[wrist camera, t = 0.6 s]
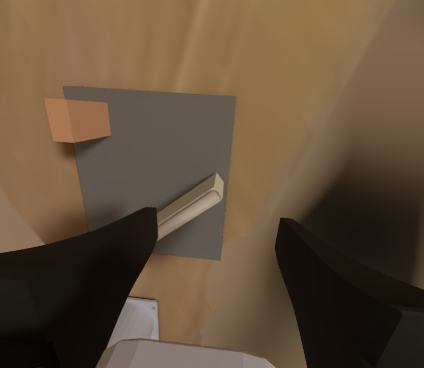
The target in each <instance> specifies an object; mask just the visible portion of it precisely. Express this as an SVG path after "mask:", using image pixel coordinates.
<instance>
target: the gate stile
mask: <svg viewBox="0 0 424 368" xmlns="http://www.w3.org/2000/svg"><path fill="white" fill-rule="evenodd" d="M44 99H45V104H46V108H47V113H48V118H49V122H50V127H51V132H52V137H53V141H57V142H70V143H75V142H80V141H85V140H90V139H96V138H101V137H106V136H111V132H110V123H109V114H108V105H107V103H105V102H92V101H79V100H66V99H51V98H44Z"/></svg>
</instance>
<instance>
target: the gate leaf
mask: <svg viewBox="0 0 424 368" xmlns="http://www.w3.org/2000/svg"><path fill="white" fill-rule="evenodd" d="M223 185H224V182H223V180H222V179H221V178H220V176H219V175H218V174H217V173H215V174H214V175H213V176H211V177H210V178H208V179H207V180H205V181H204V182H202V183H201V184H199V185H198V186H196V187H195V188H193V189H192V190H191V191H189V192H188V193H186V194H185V195H183V196H182V197H180V198H179V199H177V200H176V201H174V202H173V203H171V204H170V205H168V206H167V207H166V208H164V209H163V210H161V211H160V212H158V213H157V223H158V239H157V241H158V240H160V239H161V238H163V237H164V236H166V235H168V234H169V233H171V232H172V231H174V230H176V229H177V228H179V227H180V226H182V225H183V224H185V223H187V222H188V221H190V220H191V219H193V218H195V217H196V216H198V215H199V214H201V213H202V212H204V211H206V210H207V209H209V208H210V207H212V206H214V205H215V204H217V203H218V202H220V201H221V200H222V198H223Z"/></svg>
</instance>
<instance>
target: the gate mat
mask: <svg viewBox="0 0 424 368" xmlns="http://www.w3.org/2000/svg"><path fill="white" fill-rule="evenodd" d="M63 90H64V95H65V99H66V100H79V101H92V102H105V103H107V105H108V114H109V123H110V132H111V136H106V137H101V138H96V139H90V140H85V141H80V142H75V143H73V146H74V151H75V157H76V162H77V168H78V174H79V179H80V185H81V190H82V196H83V202H84V207H85V213H86V219H87V224H88V230H89V232H91V231H93V230H96V229H99V228H101V227H103V226H106V225H108V224H110V223H112V222H115V221H117V220H119V219H121V218H123V217H125V216H127V215H129V214H131V213H133V212H136V211H138V210H140V209H142V208H145V207H156V208H157V213H158V212H160V211H161V210H163V209H164V208H166V207H167V206H168V205H170V204H171V203H173V202H174V201H176V200H177V199H179V198H180V197H182V196H183V195H185V194H186V193H188V192H189V191H191V190H192V189H193V188H195V187H196V186H198V185H199V184H201V183H202V182H204V181H205V180H207V179H208V178H210V177H211V176H213V175H214V174H215V173H217V174H218V175H219V176H220V178H221V179H222V180H223V182H224V185H223V198H222V200H221V201H220V202H218V203H217V204H215V205H214V206H212V207H210V208H209V209H207V210H206V211H204V212H202V213H201V214H199V215H198V216H196V217H195V218H193V219H191V220H190V221H188V222H187V223H185V224H183V225H182V226H180V227H179V228H177V229H176V230H174V231H172V232H171V233H169V234H168V235H166V236H164V237H163V238H161V239H160V240H158V241H157V242H156V244H155V247H154V249H153V252H152V253H154V254H164V255H173V256H183V257H192V258H201V259H211V260H220V258H221V248H222V238H223V228H224V217H225V207H226V196H227V186H228V176H229V165H230V155H231V144H232V134H233V124H234V113H235V103H236V97H233V96H217V95H201V94H185V93H169V92H153V91H137V90H121V89H105V88H89V87H73V86H63Z"/></svg>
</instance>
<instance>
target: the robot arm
mask: <svg viewBox="0 0 424 368" xmlns="http://www.w3.org/2000/svg"><path fill="white" fill-rule="evenodd" d="M157 239H158V223H157V208H156V207H145V208H142V209H140V210H138V211H136V212H133V213H131V214H129V215H127V216H125V217H123V218H121V219H119V220H117V221H115V222H112V223H110V224H108V225H106V226H103V227H101V228H99V229H96V230H93V231H91V232H88V233H85V234H82V235H79V236H76V237H72V238H69V239H65V240H62V241H58V242H55V243H50V244H46V245H42V246H38V247H33V248H28V249H22V250H17V251H10V252H4V253H0V368H275V367H274V366H273V365H272V364H270V363H269V362H268V361H267V360H266V359H265V358H264V357H262V356H259V355H256V354H253V353H249V352H246V351H243V350H235V349H228V348H219V347H211V346H202V345H195V344H186V343H178V342H170V341H162V340H159V326H158V304H157V301H155V300H149V299H140V298H132V297H128V295H129V293H130V291H131V289H132V287H133V285H134V284H135V282H136V280H137V278H138V277H139V275H140V273H141V271H142V269H143V268H144V266H145V264H146V262H147V261H148V259H149V257H150V255H151V253H152V252H153V249H154V247H155V244H156V242H157ZM275 251H276V256H277V261H278V265H279V268H280V271H281V273H282V276H283V279H284V282H285V285H286V288H287V290H288V293H289V296H290V299H291V302H292V305H293V308H294V311H295V315H296V320H297V324H298V327H299V332H300V336H301V341H302V345H303V349H304V354H305V359H306V364H307V368H424V290H423V289H420V288H418V287H415V286H412V285H410V284H407V283H405V282H402V281H400V280H397V279H395V278H393V277H390V276H388V275H386V274H383V273H381V272H379V271H377V270H375V269H373V268H370V267H368V266H366V265H364V264H362V263H360V262H358V261H356V260H355V259H353V258H351V257H349V256H347V255H346V254H344V253H342V252H340V251H339V250H337V249H336V248H334V247H332V246H331V245H329V244H328V243H326V242H325V241H323V240H322V239H320V238H319V237H317V236H316V235H314V234H313V233H312V232H310V231H309V230H308V229H306V228H305V227H303V226H302V225H301V224H299V223H298V222H296V221H295V220H293V219H291V218H280V224H279V228H278V234H277V238H276V244H275Z"/></svg>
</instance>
